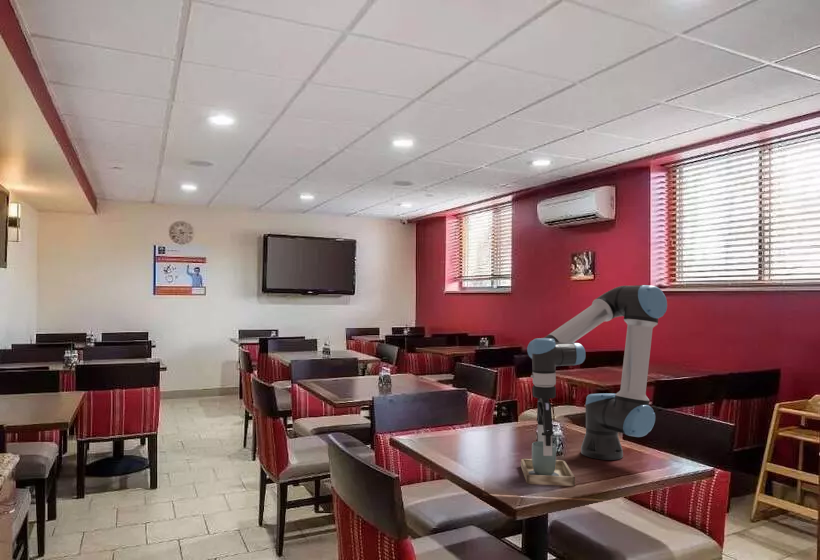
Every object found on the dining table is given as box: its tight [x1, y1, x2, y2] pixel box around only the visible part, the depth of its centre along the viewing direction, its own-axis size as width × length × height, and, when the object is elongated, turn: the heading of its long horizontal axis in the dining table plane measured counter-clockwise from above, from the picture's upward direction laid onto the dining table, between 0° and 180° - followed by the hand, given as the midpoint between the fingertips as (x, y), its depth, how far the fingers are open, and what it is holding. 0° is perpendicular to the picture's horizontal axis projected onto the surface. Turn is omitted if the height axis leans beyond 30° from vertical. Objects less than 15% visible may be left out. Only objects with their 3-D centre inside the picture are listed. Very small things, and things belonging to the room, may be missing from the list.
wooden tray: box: [520, 458, 576, 487], centre depth 189 cm, size 15×19×3 cm
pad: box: [528, 470, 559, 476], centre depth 189 cm, size 10×10×1 cm
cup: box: [531, 440, 557, 476], centre depth 189 cm, size 8×8×10 cm
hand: (544, 449), depth 190 cm, fingers open, 13 cm apart
